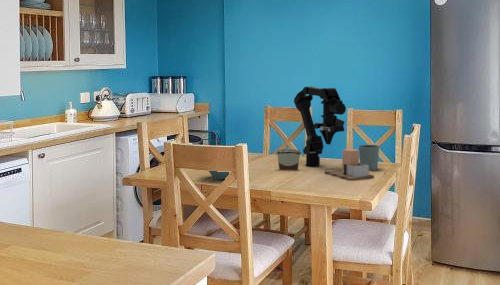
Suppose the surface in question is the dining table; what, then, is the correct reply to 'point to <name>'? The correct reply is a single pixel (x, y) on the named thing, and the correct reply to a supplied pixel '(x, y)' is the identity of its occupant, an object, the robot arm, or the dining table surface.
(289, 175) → the dining table surface
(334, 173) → the walnut board
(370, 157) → the grey embossed cylinder
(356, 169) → the grey block
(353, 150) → the terracotta peg
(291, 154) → the food container
